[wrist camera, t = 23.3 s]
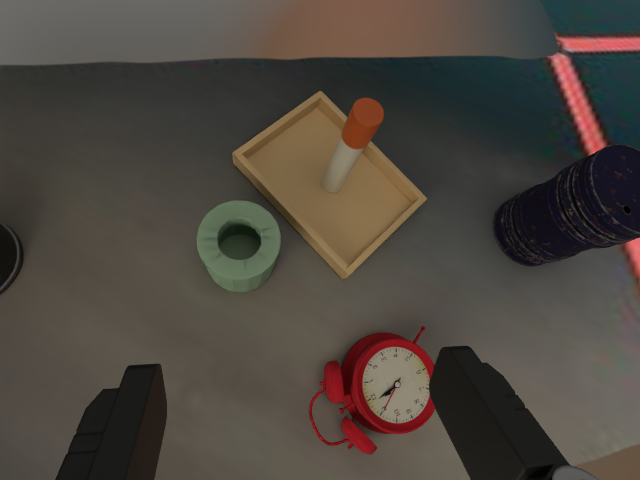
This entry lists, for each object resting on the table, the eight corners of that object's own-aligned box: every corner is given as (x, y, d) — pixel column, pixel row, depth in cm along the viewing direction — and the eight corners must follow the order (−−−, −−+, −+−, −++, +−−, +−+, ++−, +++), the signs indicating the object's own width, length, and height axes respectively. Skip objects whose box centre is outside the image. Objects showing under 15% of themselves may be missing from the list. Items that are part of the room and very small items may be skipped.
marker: (315, 182, 46) (345, 108, 31) (331, 169, 46) (367, 91, 32) (331, 198, 45) (369, 132, 31) (346, 185, 46) (390, 114, 32)
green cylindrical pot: (191, 256, 41) (178, 234, 33) (244, 214, 43) (244, 185, 35) (237, 307, 40) (234, 297, 32) (288, 261, 43) (297, 241, 35)
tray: (232, 163, 45) (232, 152, 42) (316, 102, 50) (320, 89, 47) (343, 279, 43) (348, 275, 41) (418, 206, 48) (427, 198, 46)
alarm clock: (469, 402, 38) (360, 492, 31) (431, 400, 44) (330, 477, 36) (422, 311, 40) (309, 376, 33) (391, 320, 46) (288, 378, 38)
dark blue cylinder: (506, 185, 52) (633, 107, 35) (564, 222, 52) (719, 162, 35) (482, 241, 48) (609, 185, 31) (544, 281, 49) (703, 246, 32)
